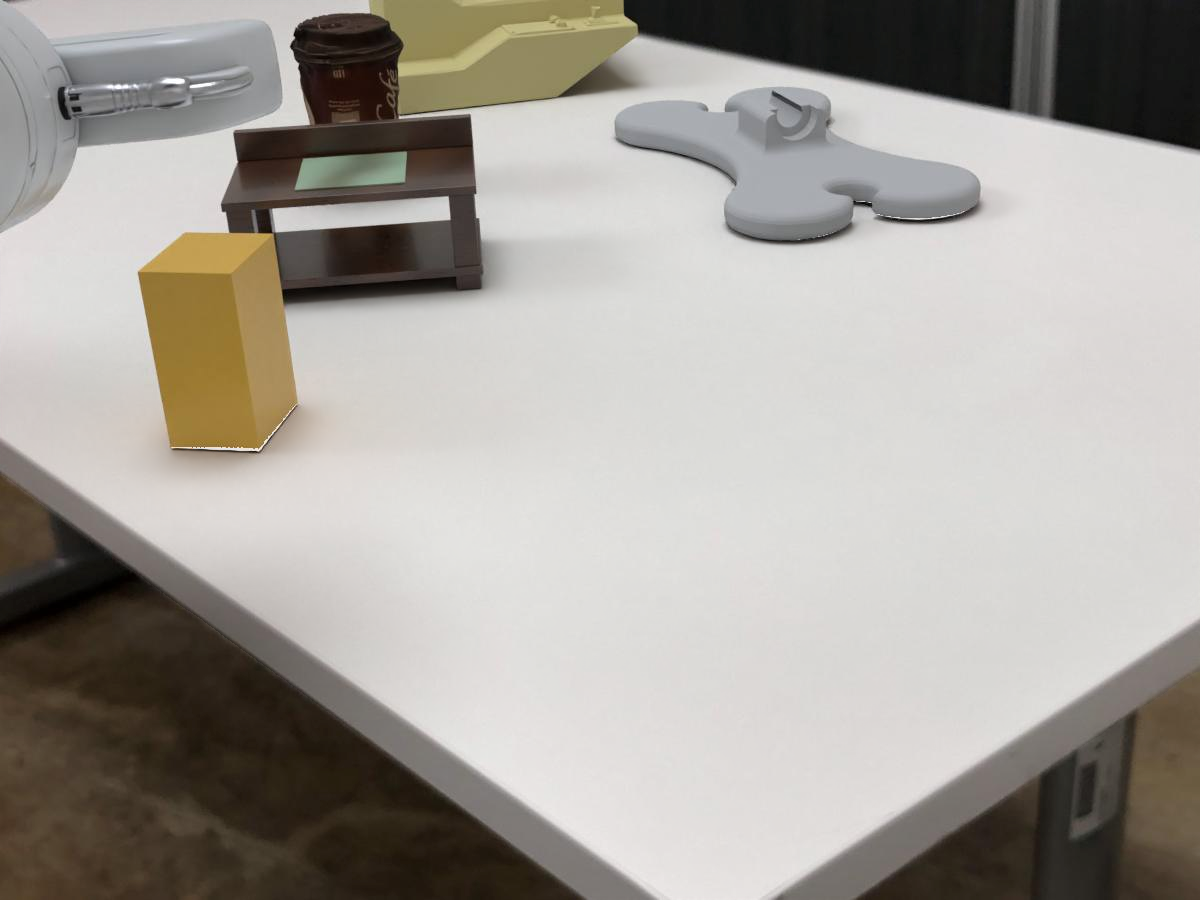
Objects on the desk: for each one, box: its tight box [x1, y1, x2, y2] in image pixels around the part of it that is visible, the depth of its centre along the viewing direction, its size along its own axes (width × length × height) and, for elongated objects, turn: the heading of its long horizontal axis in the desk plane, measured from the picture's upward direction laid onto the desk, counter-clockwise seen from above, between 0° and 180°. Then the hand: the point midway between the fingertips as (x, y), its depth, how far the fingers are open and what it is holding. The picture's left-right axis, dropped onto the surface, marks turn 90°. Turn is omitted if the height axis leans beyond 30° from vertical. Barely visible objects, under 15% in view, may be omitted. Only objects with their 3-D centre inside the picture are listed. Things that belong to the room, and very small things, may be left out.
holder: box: [614, 86, 981, 241], centre depth 122 cm, size 19×34×5 cm, turn 18°
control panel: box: [368, 0, 639, 115], centre depth 151 cm, size 24×16×20 cm
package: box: [137, 231, 299, 449], centre depth 83 cm, size 5×6×10 cm
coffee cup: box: [289, 12, 404, 125], centre depth 120 cm, size 9×8×13 cm
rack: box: [220, 113, 484, 291], centre depth 104 cm, size 16×10×9 cm, turn 95°
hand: (83, 73), depth 68 cm, fingers open, 8 cm apart
